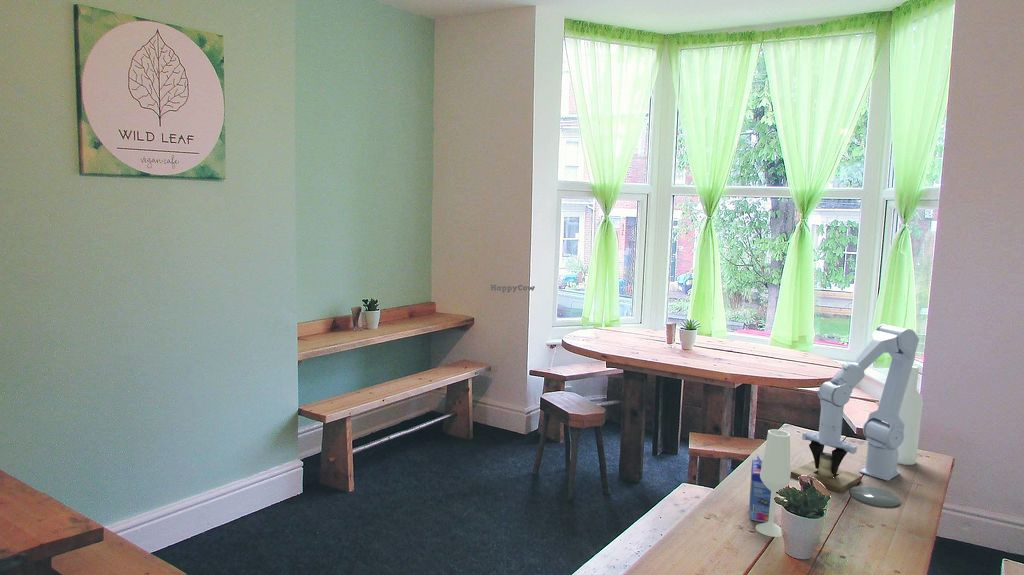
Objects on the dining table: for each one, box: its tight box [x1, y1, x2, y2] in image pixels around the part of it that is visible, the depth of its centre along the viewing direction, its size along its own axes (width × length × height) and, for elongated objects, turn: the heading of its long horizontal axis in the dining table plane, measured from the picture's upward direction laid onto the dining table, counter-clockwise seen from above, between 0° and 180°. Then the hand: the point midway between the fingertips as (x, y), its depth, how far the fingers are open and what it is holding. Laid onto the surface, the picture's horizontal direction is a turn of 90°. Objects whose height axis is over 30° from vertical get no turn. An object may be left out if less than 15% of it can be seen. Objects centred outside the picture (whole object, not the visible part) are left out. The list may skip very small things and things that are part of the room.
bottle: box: [897, 365, 924, 466], centre depth 209 cm, size 8×8×30 cm
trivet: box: [849, 485, 901, 508], centre depth 182 cm, size 12×12×1 cm
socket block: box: [790, 460, 863, 494], centre depth 194 cm, size 14×14×2 cm
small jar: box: [818, 451, 834, 479], centre depth 193 cm, size 4×4×7 cm
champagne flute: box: [755, 429, 791, 538], centre depth 160 cm, size 7×7×24 cm
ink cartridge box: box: [748, 455, 771, 523], centre depth 169 cm, size 10×6×14 cm, turn 161°
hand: (826, 470), depth 193 cm, fingers closed on small jar, 4 cm apart
